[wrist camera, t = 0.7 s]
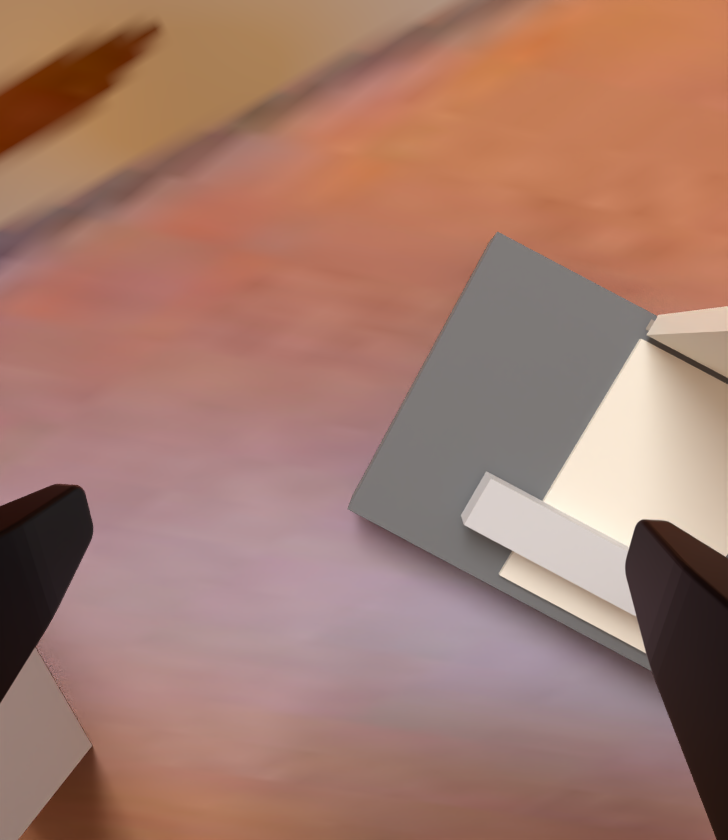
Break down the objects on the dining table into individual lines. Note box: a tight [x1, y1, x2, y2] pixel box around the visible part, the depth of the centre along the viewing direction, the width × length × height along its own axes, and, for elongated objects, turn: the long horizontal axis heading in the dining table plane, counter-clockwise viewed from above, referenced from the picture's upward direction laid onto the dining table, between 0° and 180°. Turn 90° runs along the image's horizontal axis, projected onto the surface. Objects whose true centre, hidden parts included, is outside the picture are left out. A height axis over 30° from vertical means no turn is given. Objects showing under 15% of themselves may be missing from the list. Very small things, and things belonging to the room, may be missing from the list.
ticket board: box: [348, 232, 728, 671], centre depth 22 cm, size 12×20×3 cm, turn 62°
